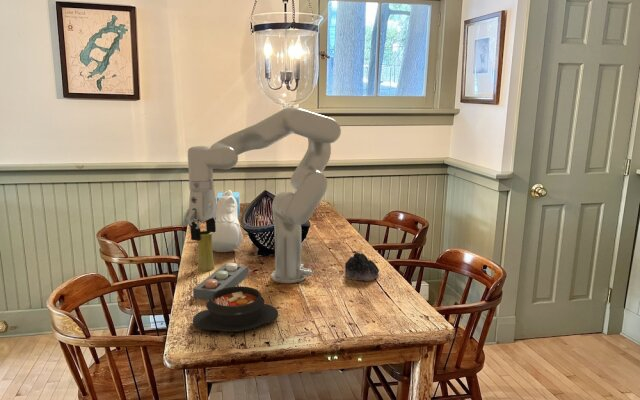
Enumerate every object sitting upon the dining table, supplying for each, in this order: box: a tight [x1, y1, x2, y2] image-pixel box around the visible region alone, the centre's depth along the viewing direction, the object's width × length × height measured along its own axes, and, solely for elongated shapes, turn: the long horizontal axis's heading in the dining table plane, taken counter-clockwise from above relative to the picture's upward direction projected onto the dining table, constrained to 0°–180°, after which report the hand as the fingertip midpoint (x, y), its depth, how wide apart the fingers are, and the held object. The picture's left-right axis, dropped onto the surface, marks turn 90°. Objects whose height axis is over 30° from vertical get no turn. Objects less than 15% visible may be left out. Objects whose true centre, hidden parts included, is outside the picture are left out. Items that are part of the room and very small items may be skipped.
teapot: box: [216, 190, 241, 218], centre depth 262 cm, size 22×11×14 cm, turn 8°
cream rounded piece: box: [225, 262, 238, 272], centre depth 182 cm, size 4×4×3 cm
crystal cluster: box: [344, 252, 380, 282], centre depth 185 cm, size 13×14×10 cm
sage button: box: [216, 271, 228, 280], centre depth 175 cm, size 4×4×3 cm
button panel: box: [192, 263, 249, 302], centre depth 175 cm, size 9×24×4 cm, turn 165°
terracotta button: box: [205, 279, 218, 289], centre depth 167 cm, size 4×4×3 cm
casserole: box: [192, 285, 279, 333], centre depth 149 cm, size 25×19×8 cm
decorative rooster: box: [204, 189, 243, 253], centre depth 214 cm, size 25×16×25 cm
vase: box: [197, 230, 215, 272], centre depth 190 cm, size 6×6×14 cm
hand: (203, 235), depth 167 cm, fingers open, 9 cm apart
